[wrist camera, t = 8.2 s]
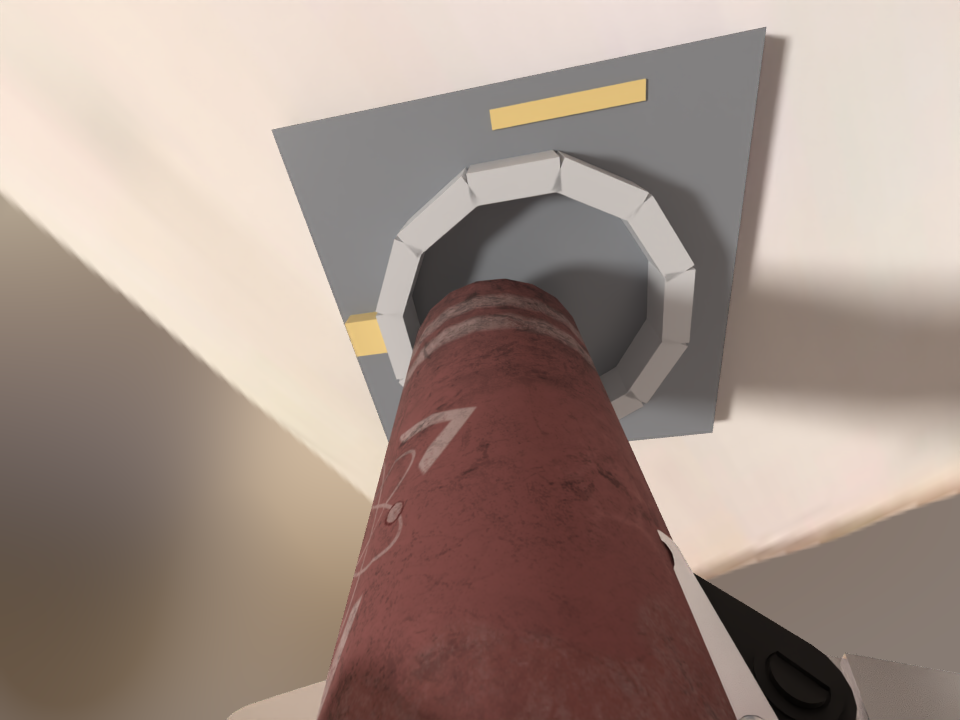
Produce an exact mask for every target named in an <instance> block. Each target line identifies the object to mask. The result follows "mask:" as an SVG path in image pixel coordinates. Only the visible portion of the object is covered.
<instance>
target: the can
mask: <svg viewBox="0 0 960 720" xmlns="http://www.w3.org/2000/svg"><path fill="white" fill-rule="evenodd" d="M657 530H659V531H661V532H663V533H664V534H665V535H667V536H668V537H669V538H671V536H670V533H669V531H668V529H667V527H666V525H665V522H664V520H663V518H662V516H661V513H660V511H659V509H658V507H657V504H656V502H655V500H654V498H653V495H652V493H651V491H650V489H649V486H648V484H647V482H646V480H645V478H644V475H643V473H642V471H641V469H640V466H639V464H638V462H637V460H636V457H635V455H634V453H633V451H632V448H631V446H630V444H629V442H628V440H627V437H626V435H625V433H624V431H623V428H622V426H621V424H620V422H619V419H618V417H617V415H616V413H615V410H614V408H613V406H612V404H611V401H610V399H609V397H608V395H607V393H606V390H605V388H604V386H603V384H602V381H601V379H600V377H599V375H598V372H597V370H596V368H595V366H594V363H593V361H592V359H591V357H590V354H589V352H588V350H587V348H586V346H585V343H584V341H583V339H582V337H581V334H580V332H579V330H578V328H577V325H576V323H575V321H574V319H573V317H572V315H571V314H570V313H569V312H568V311H567V310H566V308H565V307H564V306H563V305H562V304H561V303H560V301H559V300H558V299H557V298H556V297H554V296H552V295H551V294H549V293H547V292H545V291H544V290H542V289H540V288H538V287H537V286H535V285H533V284H529V283H524V282H520V281H515V280H510V279H494V280H484V281H476V282H473V283H471V284H469V285H466V286H464V287H461V288H459V289H457V290H454V291H452V292H450V293H449V294H448V295H447V296H445V297H444V298H443V299H442V300H441V301H440V302H438V303H437V304H436V305H435V306H434V307H433V308H432V309H430V311H429V313H428V314H427V316H426V318H425V320H424V321H423V323H422V325H421V327H420V328H419V330H418V333H417V337H416V341H415V344H414V348H413V352H412V356H411V360H410V364H409V367H408V371H407V375H406V379H405V383H404V386H403V390H402V394H401V398H400V402H399V406H398V409H397V413H396V417H395V421H394V425H393V428H392V432H391V436H390V440H389V444H388V448H387V451H386V455H385V459H384V463H383V467H382V470H381V474H380V478H379V482H378V486H377V490H376V493H375V497H374V501H373V505H372V509H371V512H370V516H369V520H368V524H367V528H366V532H365V536H364V539H363V543H362V547H361V551H360V554H359V558H358V562H357V566H356V570H355V574H354V577H353V581H352V585H351V589H350V593H349V596H348V600H347V604H346V608H345V612H344V616H343V619H342V623H341V627H340V631H339V635H338V638H337V642H336V646H335V650H334V654H333V658H332V662H331V665H330V669H329V673H328V677H327V680H326V684H325V688H324V692H323V696H322V699H321V703H320V707H319V711H318V715H317V719H316V720H737V718H736V716H735V713H734V711H733V709H732V706H731V704H730V701H729V699H728V697H727V694H726V692H725V690H724V687H723V685H722V682H721V680H720V678H719V675H718V673H717V671H716V668H715V666H714V663H713V661H712V659H711V656H710V654H709V652H708V649H707V647H706V645H705V642H704V640H703V637H702V635H701V633H700V630H699V628H698V626H697V623H696V621H695V618H694V616H693V614H692V611H691V609H690V607H689V604H688V602H687V599H686V597H685V595H684V592H683V590H682V588H681V585H680V583H679V580H678V578H677V576H676V573H675V571H674V563H673V560H672V557H671V555H670V553H669V552H668V550H667V548H666V546H665V545H664V543H663V542H662V540H661V538H660V535H659V533H658V531H657ZM671 539H672V538H671ZM672 541H673V540H672Z"/></svg>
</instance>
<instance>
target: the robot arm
mask: <svg viewBox="0 0 960 720" xmlns="http://www.w3.org/2000/svg"><path fill="white" fill-rule="evenodd" d="M657 531H658V533H659V535H660V538H661V540H662V542H663V543H664V545H665V546H666V548H667V550H668V552H669V553H670V555H671V557H672V560H673V563H674V571H675V573H676V576H677V578H678V580H679V583H680V585H681V588H682V590H683V592H684V595H685V597H686V599H687V602H688V604H689V607H690V609H691V611H692V614H693V616H694V618H695V621H696V623H697V626H698V628H699V630H700V633H701V635H702V637H703V640H704V642H705V645H706V647H707V649H708V652H709V654H710V656H711V659H712V661H713V663H714V666H715V668H716V671H717V673H718V675H719V678H720V680H721V682H722V685H723V687H724V690H725V692H726V694H727V697H728V699H729V701H730V704H731V706H732V709H733V711H734V713H735V716H736V718H737V720H960V674H959V673H954V672H948V671H943V670H937V669H931V668H926V667H920V666H915V665H909V664H903V663H898V662H893V661H886V660H881V659H876V658H870V657H865V656H859V655H854V654H848V653H845V654H844V656H843V658H839V657H833V656H828V655H825V654H823V653H822V652H820V651H819V650H818V649H816V648H815V647H814V646H812V645H811V644H809V643H808V642H806V641H804V640H803V639H801V638H800V637H798V636H796V635H794V634H793V633H791V632H790V631H788V630H786V629H784V628H783V627H781V626H780V625H778V624H777V623H775V622H773V621H772V620H770V619H768V618H767V617H765V616H763V615H762V614H760V613H758V612H757V611H755V610H753V609H752V608H750V607H749V606H747V605H745V604H744V603H742V602H740V601H739V600H737V599H735V598H734V597H732V596H730V595H729V594H727V593H725V592H724V591H722V590H721V589H719V588H717V587H716V586H714V585H712V584H711V583H709V582H707V581H706V580H704V579H702V578H701V577H699V576H698V575H696V574H694V573H693V572H692V570H691V569H690V567H689V565H688V563H687V562H686V560H685V558H684V557H683V555H682V553H681V551H680V550H679V548H678V547H677V546H676V544H675V543H674V542H673V541H672V539H671V538H669V537H668V536H667V535H665V534H664V533H663V532H661V531H659V530H657ZM325 684H326V680H325V681H321V682H318V683H316V684H312V685H309V686H306V687H303V688H299V689H296V690H293V691H290V692H287V693H284V694H281V695H277V696H274V697H271V698H268V699H265V700H262V701H259V702H255V703H252V704H249V705H247V706H245V707H243V708H241V709H239V710H237V711H235V712H234V713H233V714H231V715H230V716H229V717H228V718H227V719H226V720H316V719H317V715H318V711H319V707H320V703H321V699H322V696H323V692H324V688H325Z"/></svg>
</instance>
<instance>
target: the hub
mask: <svg viewBox="0 0 960 720" xmlns="http://www.w3.org/2000/svg"><path fill="white" fill-rule="evenodd" d="M765 33H766V27H763V28H758V29H754V30H749V31H744V32H739V33H734V34H730V35H725V36H720V37H715V38H710V39H705V40H701V41H696V42H691V43H686V44H681V45H677V46H672V47H667V48H662V49H657V50H653V51H648V52H643V53H638V54H633V55H629V56H624V57H619V58H614V59H609V60H605V61H600V62H595V63H590V64H585V65H581V66H576V67H571V68H566V69H561V70H557V71H552V72H547V73H542V74H537V75H533V76H528V77H523V78H518V79H513V80H509V81H504V82H499V83H494V84H489V85H485V86H480V87H475V88H470V89H465V90H461V91H456V92H451V93H446V94H441V95H437V96H432V97H427V98H422V99H417V100H412V101H408V102H403V103H398V104H393V105H388V106H384V107H379V108H374V109H369V110H364V111H360V112H355V113H350V114H345V115H340V116H336V117H331V118H326V119H321V120H316V121H312V122H307V123H302V124H297V125H292V126H288V127H283V128H278V129H273V130H272V132H273V135H274V138H275V140H276V143H277V146H278V148H279V151H280V154H281V156H282V159H283V162H284V164H285V167H286V170H287V172H288V175H289V178H290V180H291V183H292V186H293V188H294V191H295V194H296V196H297V199H298V202H299V204H300V207H301V210H302V212H303V215H304V218H305V220H306V223H307V226H308V228H309V231H310V234H311V236H312V239H313V242H314V244H315V247H316V250H317V252H318V255H319V258H320V260H321V263H322V266H323V268H324V271H325V274H326V276H327V279H328V282H329V284H330V287H331V290H332V293H333V295H334V298H335V301H336V303H337V306H338V309H339V311H340V314H341V317H342V319H343V322H344V325H345V327H346V330H347V333H348V335H349V338H350V341H351V343H352V346H353V349H354V351H355V354H356V357H357V359H358V362H359V365H360V367H361V370H362V373H363V375H364V378H365V381H366V383H367V386H368V389H369V391H370V394H371V397H372V399H373V402H374V405H375V407H376V410H377V413H378V415H379V418H380V421H381V423H382V426H383V429H384V431H385V434H386V437H387V439H388V442H389V440H390V436H391V432H392V428H393V425H394V421H395V417H396V413H397V409H398V406H399V402H400V398H401V394H402V390H403V386H404V383H405V379H406V375H407V371H408V367H409V364H410V360H411V356H412V352H413V348H414V344H415V341H416V337H417V333H418V330H419V328H420V327H421V325H422V323H423V321H424V320H425V318H426V316H427V314H428V313H429V311H430V309H432V308H433V307H434V306H435V305H436V304H437V303H438V302H440V301H441V300H442V299H443V298H444V297H445V296H447V295H448V294H449V293H450V292H452V291H454V290H457V289H459V288H461V287H464V286H466V285H469V284H471V283H473V282H476V281H484V280H494V279H510V280H515V281H520V282H524V283H529V284H533V285H535V286H537V287H538V288H540V289H542V290H544V291H545V292H547V293H549V294H551V295H552V296H554V297H556V298H557V299H558V300H559V301H560V303H561V304H562V305H563V306H564V307H565V308H566V310H567V311H568V312H569V313H570V314H571V315H572V317H573V319H574V321H575V323H576V325H577V328H578V330H579V332H580V334H581V337H582V339H583V341H584V343H585V346H586V348H587V350H588V352H589V354H590V357H591V359H592V361H593V363H594V366H595V368H596V370H597V372H598V375H599V377H600V379H601V381H602V384H603V386H604V388H605V390H606V393H607V395H608V397H609V399H610V401H611V404H612V406H613V408H614V410H615V413H616V415H617V417H618V419H619V422H620V424H621V426H622V428H623V431H624V433H625V435H626V437H627V440H628V441H634V440H644V439H654V438H664V437H674V436H684V435H693V434H703V433H712V431H713V423H714V416H715V408H716V401H717V393H718V386H719V378H720V371H721V363H722V356H723V348H724V341H725V333H726V326H727V318H728V311H729V303H730V296H731V288H732V281H733V273H734V266H735V258H736V251H737V243H738V236H739V228H740V221H741V213H742V206H743V198H744V191H745V183H746V176H747V168H748V161H749V153H750V146H751V138H752V131H753V123H754V116H755V108H756V101H757V93H758V86H759V78H760V71H761V63H762V56H763V48H764V41H765Z"/></svg>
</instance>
